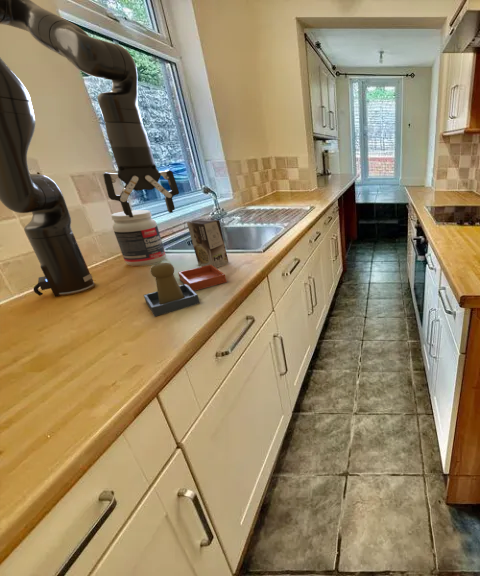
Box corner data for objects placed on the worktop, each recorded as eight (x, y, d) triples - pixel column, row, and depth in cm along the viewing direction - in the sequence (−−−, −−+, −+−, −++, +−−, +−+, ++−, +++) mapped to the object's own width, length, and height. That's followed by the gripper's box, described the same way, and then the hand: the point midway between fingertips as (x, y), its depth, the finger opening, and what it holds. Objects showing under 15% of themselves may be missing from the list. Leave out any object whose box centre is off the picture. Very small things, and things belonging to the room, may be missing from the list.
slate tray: (154, 316, 81) (151, 307, 80) (146, 303, 88) (143, 294, 87) (200, 303, 88) (197, 294, 87) (188, 291, 95) (186, 283, 94)
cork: (176, 306, 85) (164, 268, 81) (154, 306, 85) (141, 268, 81) (189, 296, 91) (179, 260, 86) (168, 296, 91) (157, 260, 86)
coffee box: (229, 263, 118) (220, 220, 111) (214, 269, 113) (204, 223, 106) (212, 260, 121) (202, 217, 115) (197, 265, 116) (185, 221, 109)
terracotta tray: (191, 291, 95) (189, 283, 94) (179, 279, 104) (177, 272, 103) (226, 282, 102) (225, 274, 101) (212, 271, 110) (211, 264, 109)
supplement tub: (163, 264, 117) (148, 214, 109) (121, 269, 112) (102, 217, 105) (170, 254, 128) (156, 208, 120) (131, 258, 123) (114, 211, 116)
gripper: (162, 145, 81) (179, 209, 88) (89, 144, 72) (114, 216, 79) (169, 145, 76) (186, 213, 83) (92, 145, 67) (118, 221, 74)
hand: (151, 214), depth 81 cm, fingers open, 8 cm apart
